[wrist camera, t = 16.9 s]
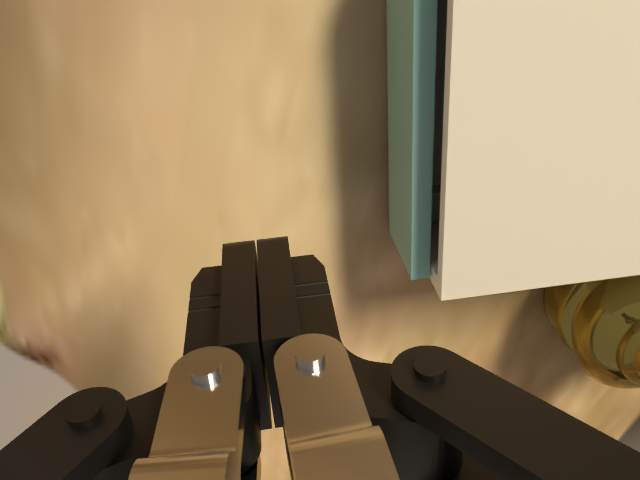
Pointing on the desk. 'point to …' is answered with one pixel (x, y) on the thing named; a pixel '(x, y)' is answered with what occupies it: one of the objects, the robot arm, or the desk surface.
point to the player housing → (538, 146)
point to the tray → (415, 125)
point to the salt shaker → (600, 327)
